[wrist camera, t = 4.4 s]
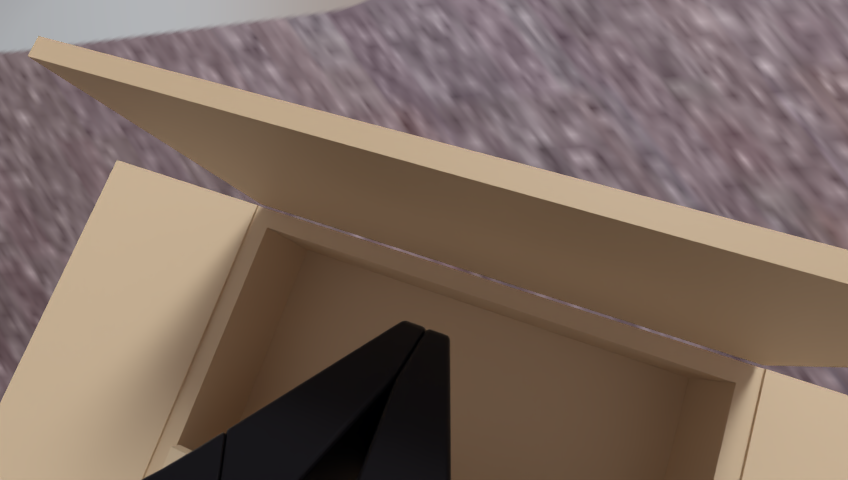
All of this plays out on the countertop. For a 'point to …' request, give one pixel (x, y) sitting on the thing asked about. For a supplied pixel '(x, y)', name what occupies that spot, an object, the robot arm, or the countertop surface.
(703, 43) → the countertop surface
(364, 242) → the carton
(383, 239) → the flap
